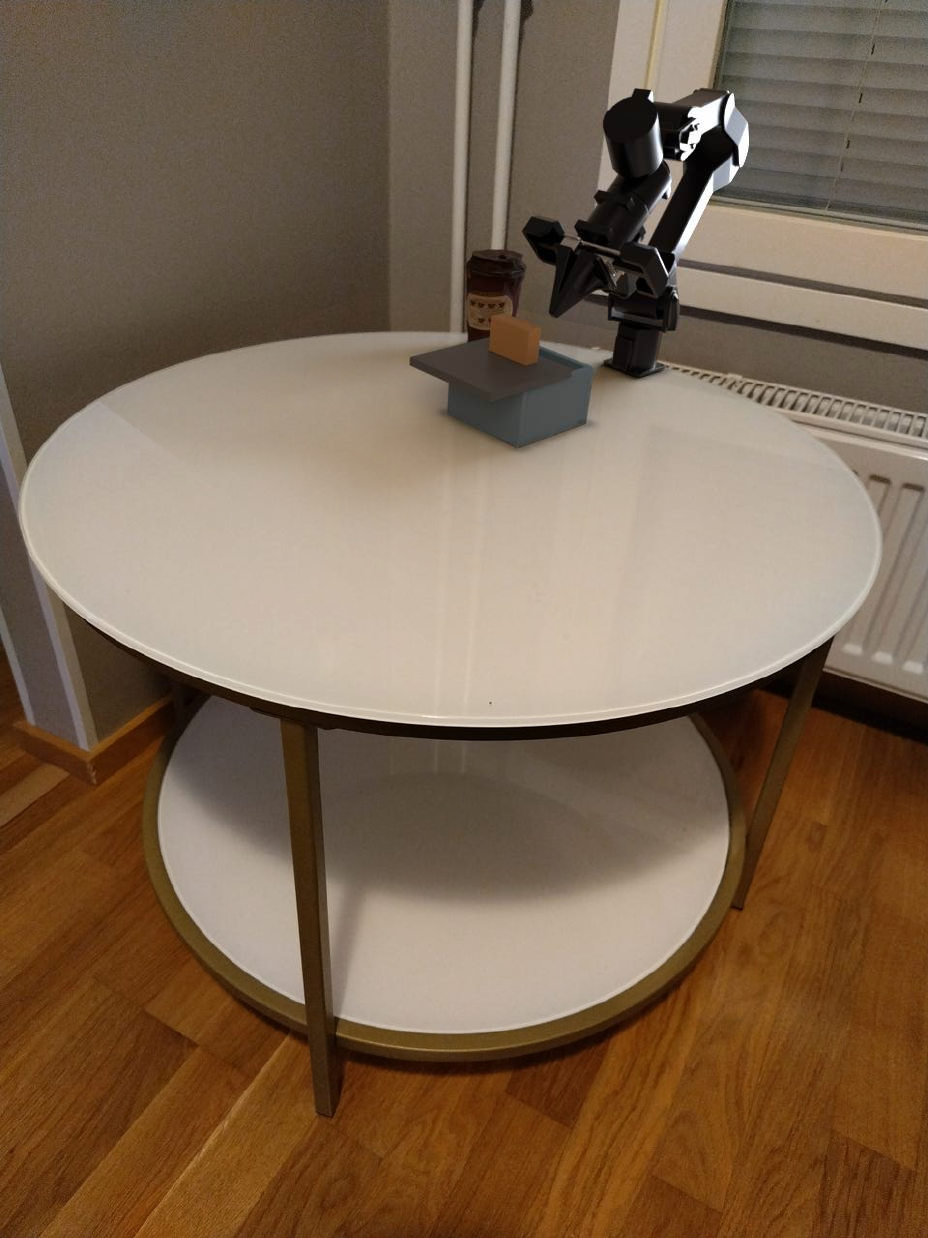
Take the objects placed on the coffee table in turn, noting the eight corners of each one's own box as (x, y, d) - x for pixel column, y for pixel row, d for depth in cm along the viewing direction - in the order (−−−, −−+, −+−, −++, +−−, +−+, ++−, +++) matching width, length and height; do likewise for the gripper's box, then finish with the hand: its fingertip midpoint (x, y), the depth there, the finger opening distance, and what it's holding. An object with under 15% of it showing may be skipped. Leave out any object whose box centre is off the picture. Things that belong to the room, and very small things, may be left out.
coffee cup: (513, 361, 120) (522, 264, 113) (455, 354, 121) (460, 257, 114) (522, 342, 127) (531, 249, 120) (467, 335, 128) (473, 242, 121)
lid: (491, 344, 105) (494, 302, 102) (571, 377, 97) (577, 332, 94) (409, 365, 97) (410, 320, 94) (489, 402, 90) (493, 355, 87)
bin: (515, 392, 111) (520, 338, 107) (586, 423, 104) (594, 367, 100) (446, 413, 104) (449, 356, 100) (517, 448, 98) (523, 388, 93)
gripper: (711, 266, 101) (637, 377, 102) (591, 233, 112) (524, 333, 112) (686, 200, 92) (605, 321, 92) (558, 170, 103) (485, 279, 103)
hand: (552, 315), depth 100 cm, fingers closed
